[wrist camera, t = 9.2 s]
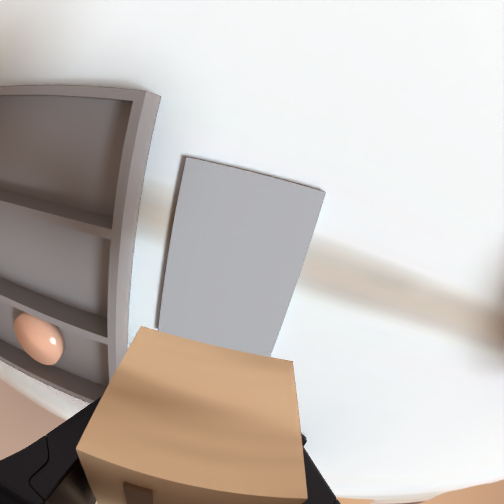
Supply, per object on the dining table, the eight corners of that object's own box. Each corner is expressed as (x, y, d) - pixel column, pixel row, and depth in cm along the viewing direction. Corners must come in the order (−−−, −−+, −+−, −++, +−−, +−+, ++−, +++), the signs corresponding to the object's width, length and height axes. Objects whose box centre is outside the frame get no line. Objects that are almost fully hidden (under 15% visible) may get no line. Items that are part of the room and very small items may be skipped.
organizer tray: (127, 393, 24) (118, 413, 21) (-7, 334, 23) (-20, 347, 20) (161, 96, 16) (146, 91, 13) (-14, 90, 15) (-36, 89, 12)
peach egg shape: (66, 365, 22) (60, 373, 21) (24, 343, 22) (17, 350, 21) (64, 321, 21) (57, 329, 20) (19, 299, 20) (11, 306, 19)
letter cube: (254, 443, 10) (251, 549, 6) (138, 417, 10) (102, 517, 6) (292, 361, 9) (307, 502, 4) (141, 326, 8) (74, 452, 4)
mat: (268, 356, 22) (269, 359, 21) (159, 329, 21) (157, 333, 21) (324, 191, 18) (325, 192, 17) (188, 157, 17) (186, 157, 17)
